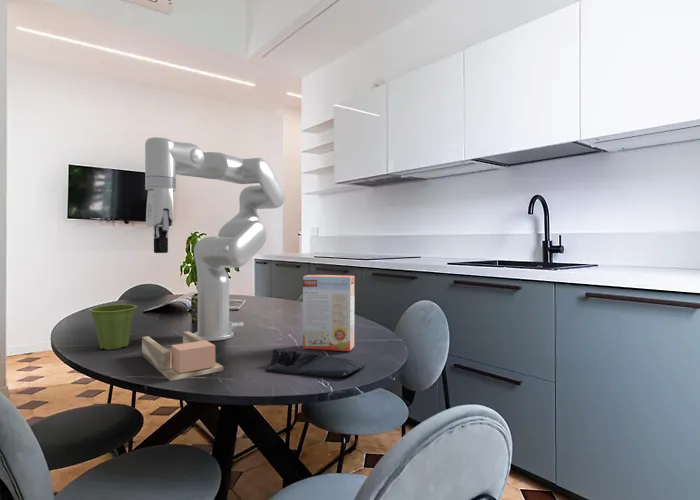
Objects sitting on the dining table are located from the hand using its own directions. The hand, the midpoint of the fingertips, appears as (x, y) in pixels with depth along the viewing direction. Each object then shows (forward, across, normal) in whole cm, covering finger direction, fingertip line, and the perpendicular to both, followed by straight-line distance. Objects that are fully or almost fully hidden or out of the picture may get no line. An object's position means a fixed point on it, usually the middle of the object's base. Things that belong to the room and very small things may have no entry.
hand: (160, 252), depth 115 cm
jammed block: (+26, +23, +1) cm, 35 cm away
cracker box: (+27, +24, +39) cm, 53 cm away
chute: (+27, +13, +1) cm, 30 cm away
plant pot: (+27, -14, -9) cm, 32 cm away
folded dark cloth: (+28, +37, +26) cm, 53 cm away
